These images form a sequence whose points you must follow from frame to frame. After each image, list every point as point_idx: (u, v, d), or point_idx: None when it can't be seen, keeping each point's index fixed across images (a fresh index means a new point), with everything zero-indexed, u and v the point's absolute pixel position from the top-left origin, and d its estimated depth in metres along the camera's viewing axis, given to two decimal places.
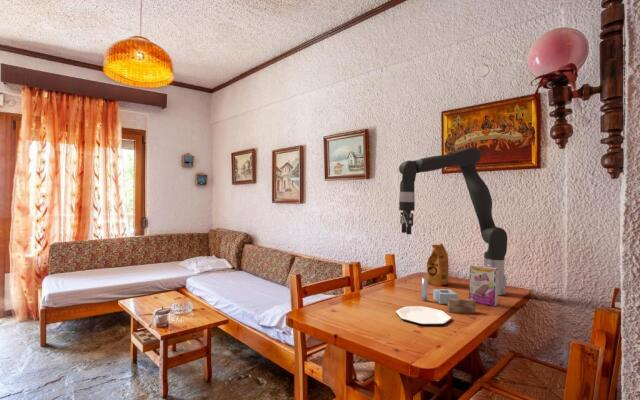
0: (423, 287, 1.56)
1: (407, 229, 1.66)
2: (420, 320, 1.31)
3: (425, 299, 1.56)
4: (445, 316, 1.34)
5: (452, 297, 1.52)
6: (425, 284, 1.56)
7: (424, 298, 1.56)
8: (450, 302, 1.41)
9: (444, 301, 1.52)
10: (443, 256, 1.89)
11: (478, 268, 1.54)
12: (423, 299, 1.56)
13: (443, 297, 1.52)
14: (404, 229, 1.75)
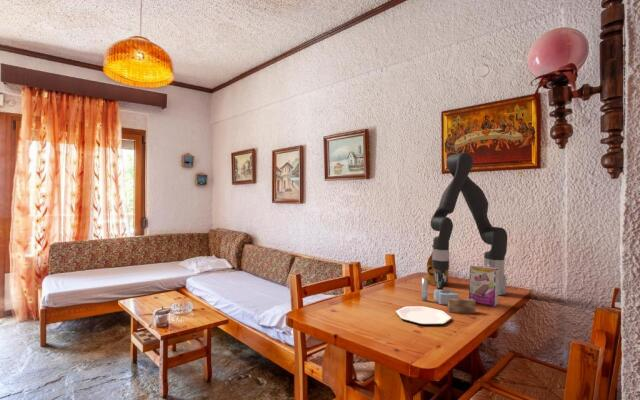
0: (423, 287, 1.56)
1: None
2: (420, 320, 1.31)
3: (425, 299, 1.56)
4: (445, 316, 1.34)
5: (453, 298, 1.51)
6: (425, 284, 1.56)
7: (424, 298, 1.56)
8: (450, 302, 1.41)
9: (445, 302, 1.51)
10: None
11: (478, 268, 1.55)
12: (423, 299, 1.56)
13: (444, 298, 1.51)
14: None
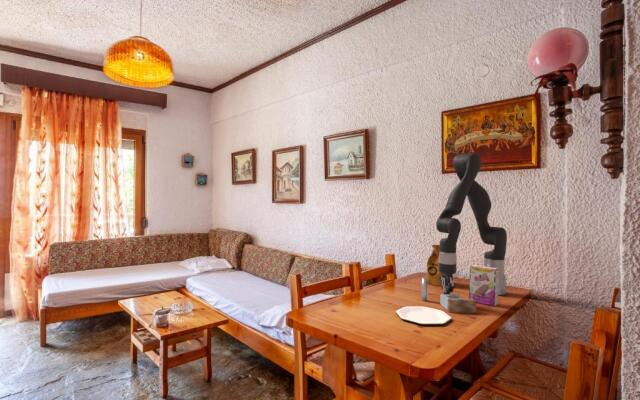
0: (423, 287, 1.56)
1: None
2: (420, 320, 1.31)
3: (425, 299, 1.56)
4: (445, 316, 1.34)
5: None
6: (425, 284, 1.56)
7: (424, 298, 1.56)
8: (450, 302, 1.41)
9: None
10: None
11: (478, 268, 1.54)
12: (423, 299, 1.56)
13: None
14: None
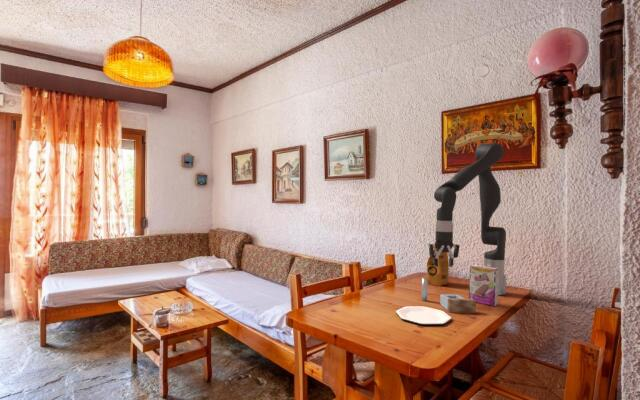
0: (423, 287, 1.56)
1: None
2: (420, 320, 1.31)
3: (425, 299, 1.56)
4: (445, 316, 1.34)
5: None
6: (425, 284, 1.56)
7: (424, 298, 1.56)
8: (450, 302, 1.41)
9: None
10: (443, 256, 1.89)
11: (478, 268, 1.54)
12: (423, 299, 1.56)
13: None
14: (449, 263, 1.59)
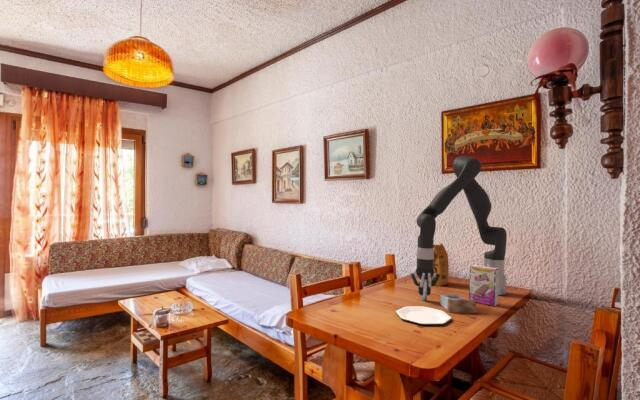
0: (423, 287, 1.56)
1: None
2: (420, 320, 1.31)
3: (425, 299, 1.56)
4: (445, 316, 1.34)
5: None
6: (425, 284, 1.56)
7: (424, 298, 1.56)
8: (450, 302, 1.41)
9: None
10: (443, 256, 1.89)
11: (478, 268, 1.54)
12: (423, 299, 1.56)
13: None
14: (427, 291, 1.57)
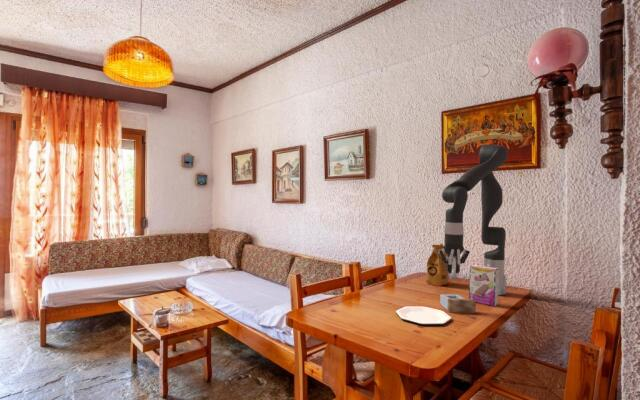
0: (452, 264, 1.47)
1: None
2: (420, 320, 1.31)
3: (454, 277, 1.46)
4: (445, 316, 1.34)
5: None
6: (454, 261, 1.46)
7: (453, 276, 1.46)
8: (450, 302, 1.41)
9: None
10: None
11: (478, 268, 1.54)
12: (452, 277, 1.47)
13: None
14: (456, 269, 1.48)
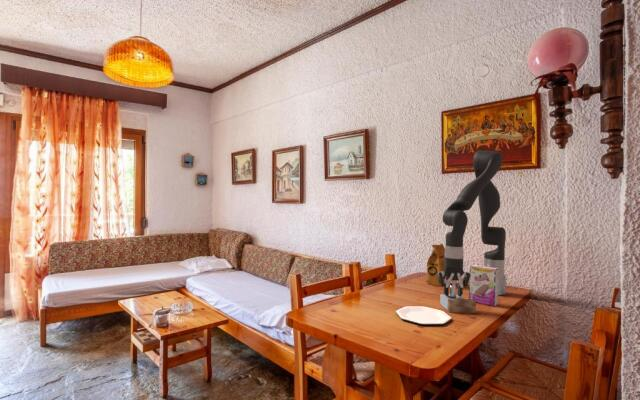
0: (452, 292, 1.46)
1: None
2: (420, 320, 1.31)
3: None
4: (445, 316, 1.34)
5: None
6: (454, 288, 1.46)
7: None
8: (450, 302, 1.41)
9: None
10: (443, 256, 1.90)
11: (478, 268, 1.54)
12: None
13: None
14: (458, 292, 1.47)
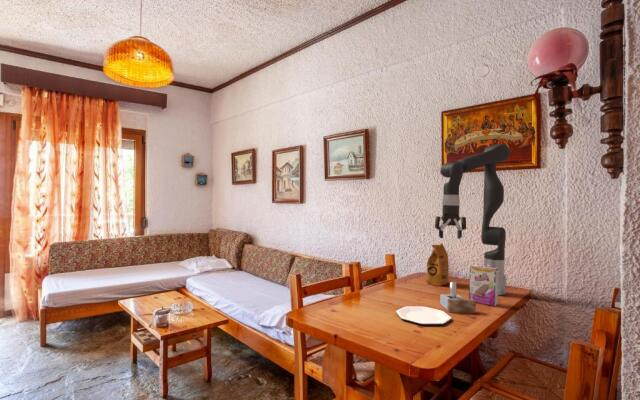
0: (452, 292, 1.47)
1: None
2: (420, 320, 1.31)
3: None
4: (445, 316, 1.34)
5: None
6: (454, 288, 1.46)
7: None
8: (450, 302, 1.41)
9: None
10: (443, 256, 1.89)
11: (478, 268, 1.54)
12: None
13: None
14: (458, 234, 1.64)
